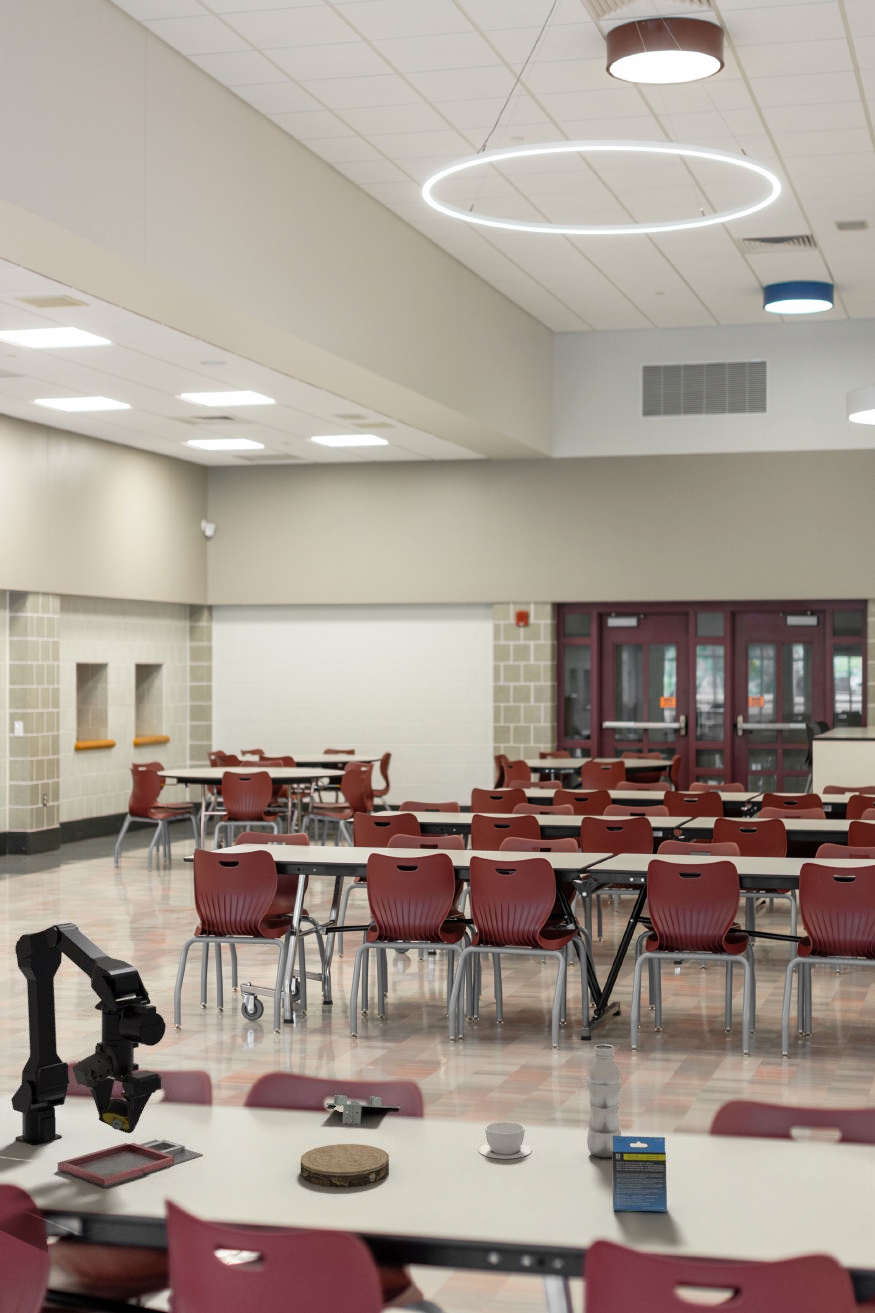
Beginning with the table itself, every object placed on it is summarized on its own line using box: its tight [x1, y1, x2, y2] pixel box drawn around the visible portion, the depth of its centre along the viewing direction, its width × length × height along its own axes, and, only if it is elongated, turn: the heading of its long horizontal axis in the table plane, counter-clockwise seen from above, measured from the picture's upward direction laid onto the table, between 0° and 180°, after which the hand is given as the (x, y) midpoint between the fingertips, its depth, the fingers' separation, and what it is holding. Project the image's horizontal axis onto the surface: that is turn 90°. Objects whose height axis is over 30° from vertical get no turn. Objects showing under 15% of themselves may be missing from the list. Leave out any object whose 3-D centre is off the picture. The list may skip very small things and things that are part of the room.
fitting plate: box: [57, 1139, 204, 1190], centre depth 267 cm, size 14×22×2 cm, turn 139°
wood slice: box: [300, 1143, 390, 1189], centre depth 262 cm, size 16×16×3 cm
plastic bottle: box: [586, 1044, 622, 1158], centre depth 271 cm, size 6×7×20 cm
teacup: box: [477, 1121, 533, 1160], centre depth 273 cm, size 10×10×5 cm
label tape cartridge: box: [611, 1135, 668, 1213], centre depth 243 cm, size 9×4×12 cm, turn 83°
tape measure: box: [98, 1097, 140, 1134], centre depth 264 cm, size 7×7×4 cm
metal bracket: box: [325, 1094, 401, 1125], centre depth 296 cm, size 14×6×15 cm
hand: (117, 1123), depth 265 cm, fingers closed on tape measure, 8 cm apart
